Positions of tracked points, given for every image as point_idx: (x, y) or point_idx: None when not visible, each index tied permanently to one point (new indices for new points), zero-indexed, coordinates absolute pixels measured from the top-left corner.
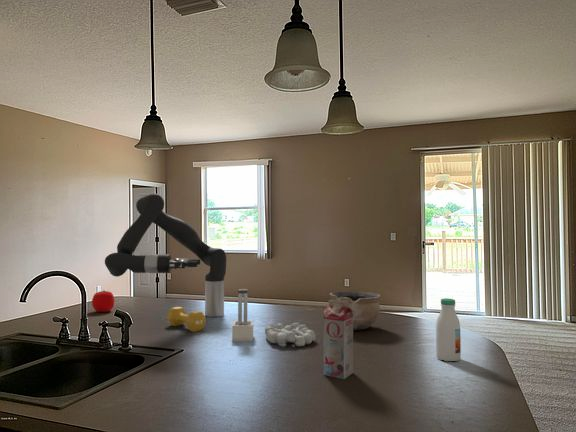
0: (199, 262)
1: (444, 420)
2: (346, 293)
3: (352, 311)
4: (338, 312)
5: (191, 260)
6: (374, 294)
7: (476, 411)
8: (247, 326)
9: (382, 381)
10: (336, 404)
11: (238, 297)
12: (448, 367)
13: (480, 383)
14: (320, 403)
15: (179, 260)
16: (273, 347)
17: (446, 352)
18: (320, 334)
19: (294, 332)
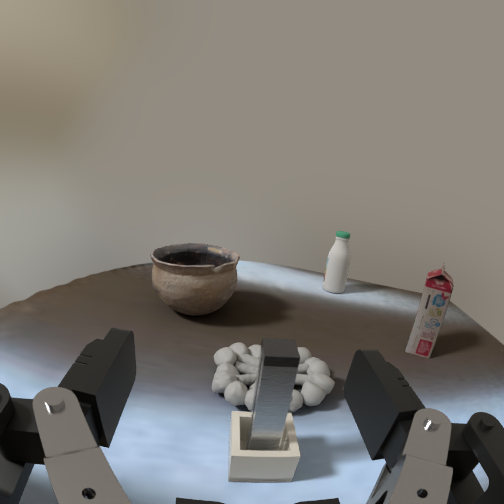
0: (134, 360)
1: (464, 317)
2: (155, 256)
3: (429, 272)
4: (450, 278)
5: (100, 401)
6: (189, 245)
7: None
8: (293, 425)
9: None
10: (484, 352)
11: (295, 378)
12: (359, 295)
13: (390, 293)
14: (490, 359)
15: (442, 501)
16: (330, 407)
17: (345, 283)
18: (228, 343)
19: None
